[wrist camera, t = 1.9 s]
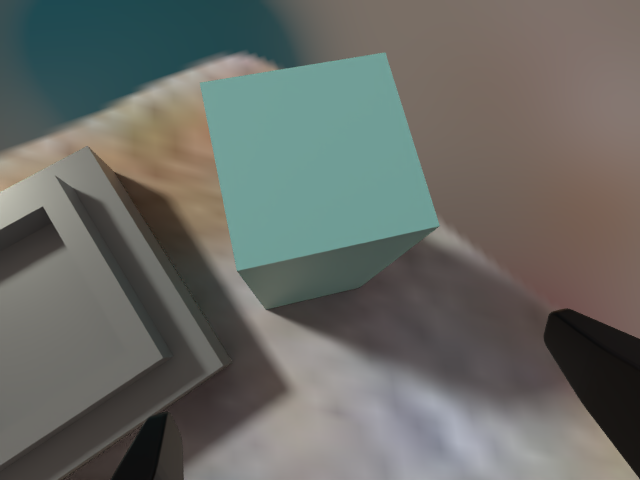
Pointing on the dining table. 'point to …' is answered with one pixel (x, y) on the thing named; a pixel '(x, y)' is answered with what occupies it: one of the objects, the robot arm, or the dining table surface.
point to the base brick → (87, 321)
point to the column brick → (316, 176)
